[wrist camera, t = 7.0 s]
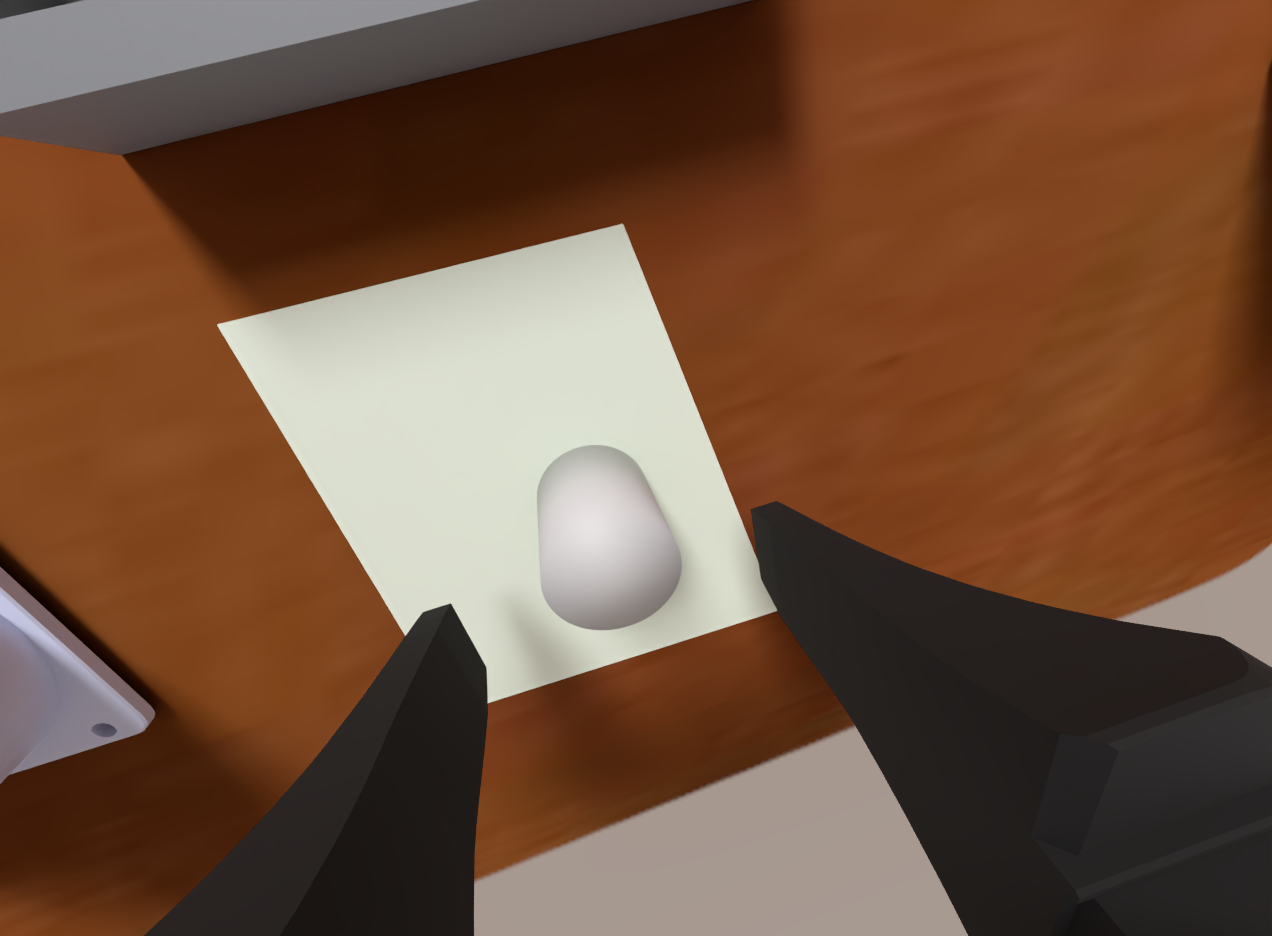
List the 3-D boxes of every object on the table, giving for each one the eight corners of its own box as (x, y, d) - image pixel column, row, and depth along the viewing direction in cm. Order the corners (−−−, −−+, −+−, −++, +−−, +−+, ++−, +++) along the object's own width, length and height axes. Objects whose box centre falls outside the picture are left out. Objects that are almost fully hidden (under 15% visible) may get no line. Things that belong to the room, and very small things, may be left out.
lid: (455, 698, 17) (435, 831, 13) (231, 319, 11) (82, 368, 7) (809, 586, 18) (882, 680, 14) (782, 182, 12) (897, 164, 8)
